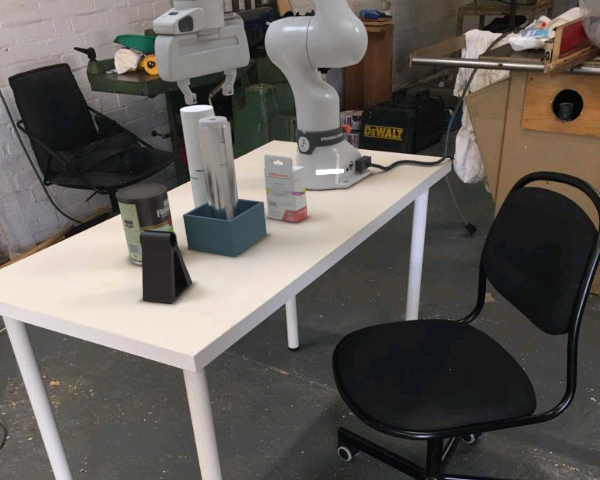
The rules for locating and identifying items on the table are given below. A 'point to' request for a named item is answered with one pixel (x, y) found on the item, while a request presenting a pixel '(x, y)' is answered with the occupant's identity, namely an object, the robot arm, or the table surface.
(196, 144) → the cylindrical container
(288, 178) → the ink cartridge box
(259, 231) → the case
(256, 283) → the table surface
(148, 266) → the phone stand
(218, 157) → the silver tall cylinder
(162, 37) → the robot arm
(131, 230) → the coffee can
